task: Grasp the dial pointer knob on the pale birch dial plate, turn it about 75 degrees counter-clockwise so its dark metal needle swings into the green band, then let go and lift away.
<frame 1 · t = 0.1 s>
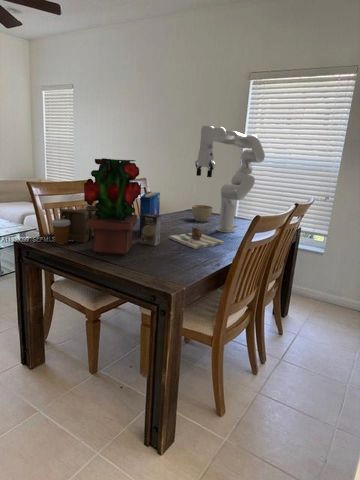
hand: (203, 176, 202), 37 cm above the table, tool pointing down, fingers open, 9 cm apart
ornamental box: (90, 234, 195), on the table
dial pointer knob: (193, 231, 196), point 5 cm above the table, hinge at 0.0°
disposable coffee cup: (61, 243, 174), on the table
potted plant: (113, 252, 165), on the table
coffee box: (150, 243, 184), on the table
dial plate: (196, 241, 194), on the table
planter bowl: (201, 220, 255), on the table
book: (148, 233, 206), on the table
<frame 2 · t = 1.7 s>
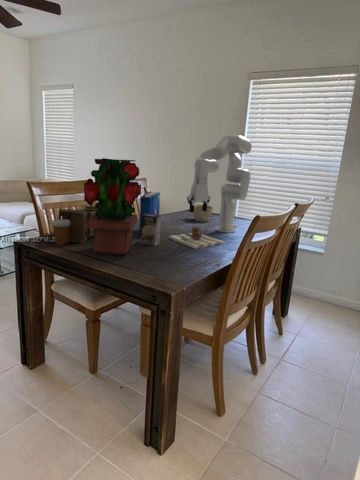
hand: (198, 211, 190), 18 cm above the table, tool pointing down, fingers open, 9 cm apart
ornamental box: (89, 235, 194), on the table
everything else where it was.
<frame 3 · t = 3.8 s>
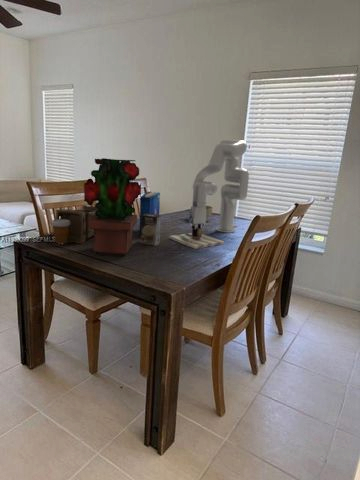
hand: (196, 235, 194), 4 cm above the table, tool pointing down, fingers closed on dial pointer knob, 2 cm apart
ornamental box: (87, 235, 193), on the table
dial pointer knob: (193, 231, 196), point 5 cm above the table, hinge at 0.0°, touching gripper
everything else where it was.
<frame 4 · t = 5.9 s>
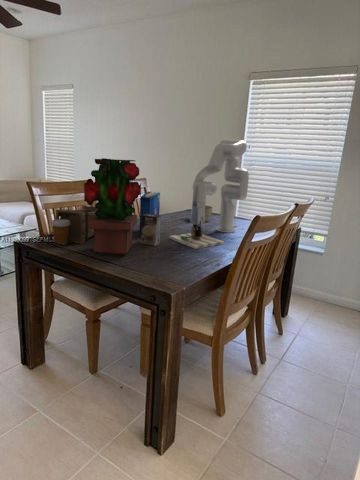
hand: (196, 235, 194), 4 cm above the table, tool pointing down, fingers closed on dial pointer knob, 3 cm apart
dial pointer knob: (191, 232, 193), point 5 cm above the table, hinge at 62.9°, touching gripper
everything else where it was.
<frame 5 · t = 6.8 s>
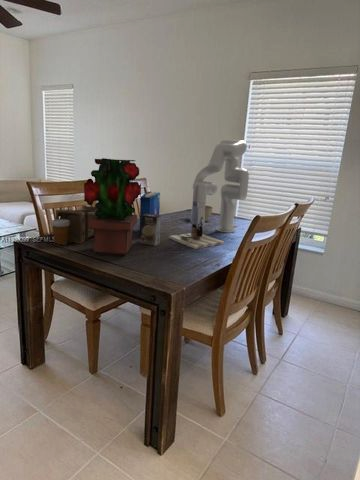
hand: (196, 234, 193), 4 cm above the table, tool pointing down, fingers open, 6 cm apart
ornamental box: (87, 235, 193), on the table, touching disposable coffee cup
dial pointer knob: (191, 233, 192), point 5 cm above the table, hinge at 68.7°
disposable coffee cup: (61, 243, 174), on the table, touching ornamental box
everything else where it was.
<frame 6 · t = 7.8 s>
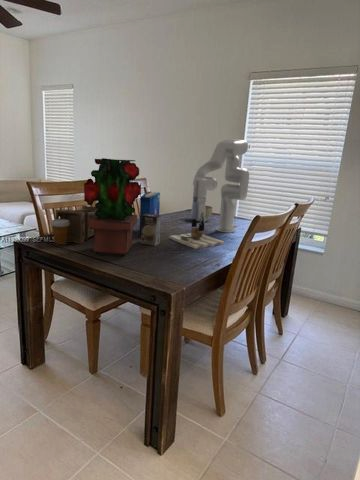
hand: (197, 228, 193), 7 cm above the table, tool pointing down, fingers open, 9 cm apart
ornamental box: (87, 235, 193), on the table
dial pointer knob: (191, 233, 192), point 5 cm above the table, hinge at 70.1°
disposable coffee cup: (61, 243, 174), on the table
everything else where it was.
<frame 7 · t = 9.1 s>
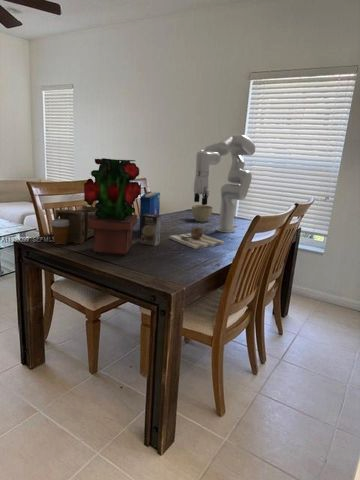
hand: (200, 203, 194), 22 cm above the table, tool pointing down, fingers open, 9 cm apart
nothing on the table moved.
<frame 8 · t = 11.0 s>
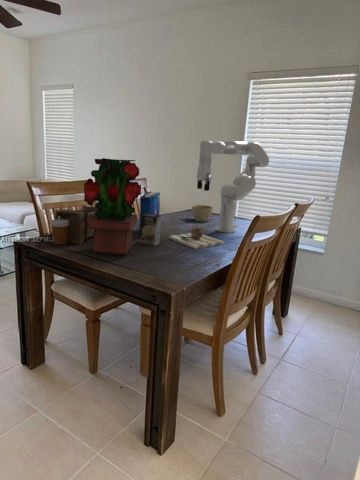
hand: (202, 189, 207), 28 cm above the table, tool pointing down, fingers open, 9 cm apart
nothing on the table moved.
at the end: dial pointer knob at +70° (first picture: +0°); the gripper is holding nothing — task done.
